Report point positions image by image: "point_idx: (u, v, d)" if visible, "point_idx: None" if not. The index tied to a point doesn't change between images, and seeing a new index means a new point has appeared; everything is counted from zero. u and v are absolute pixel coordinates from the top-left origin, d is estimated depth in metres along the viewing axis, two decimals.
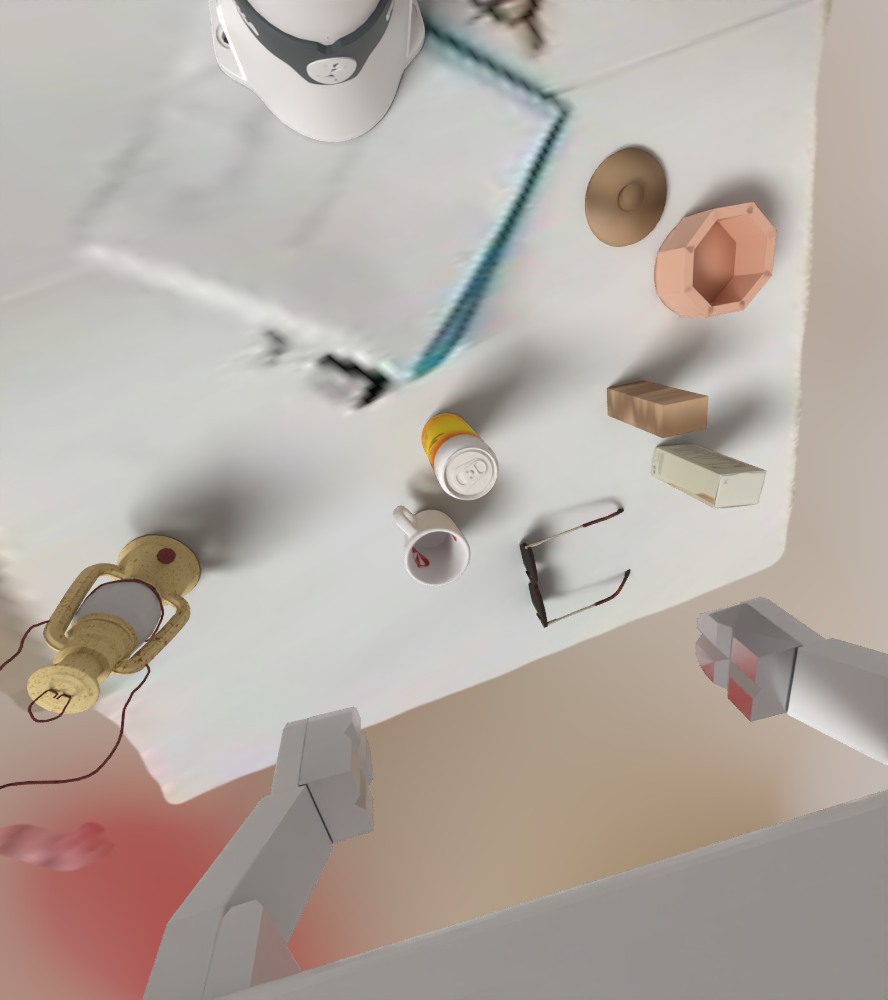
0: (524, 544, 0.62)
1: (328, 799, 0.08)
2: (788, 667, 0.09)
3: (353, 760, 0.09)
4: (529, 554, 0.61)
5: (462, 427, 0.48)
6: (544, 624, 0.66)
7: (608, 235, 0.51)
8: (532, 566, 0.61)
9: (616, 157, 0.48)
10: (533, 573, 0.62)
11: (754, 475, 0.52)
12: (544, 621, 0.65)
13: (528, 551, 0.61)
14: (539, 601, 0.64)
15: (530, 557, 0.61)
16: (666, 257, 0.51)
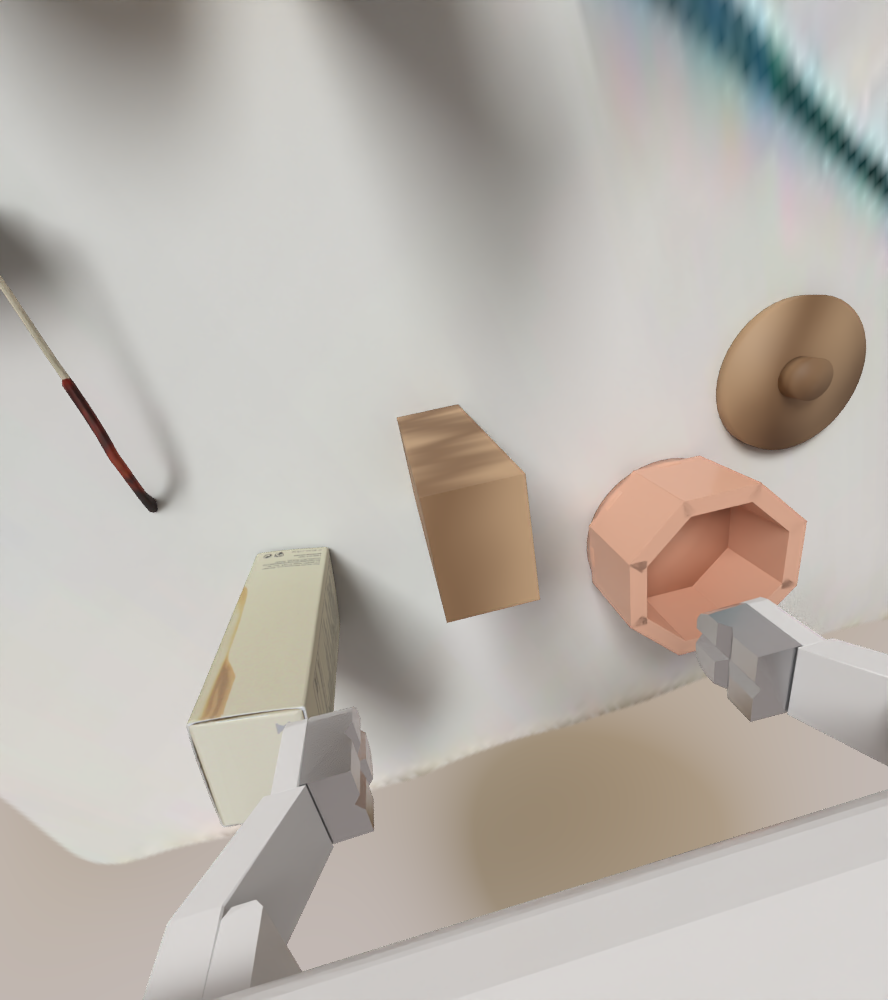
0: None
1: (328, 799, 0.08)
2: (788, 666, 0.09)
3: (353, 760, 0.09)
4: None
5: None
6: None
7: (750, 348, 0.26)
8: None
9: (858, 341, 0.27)
10: None
11: None
12: None
13: None
14: None
15: None
16: (708, 466, 0.27)
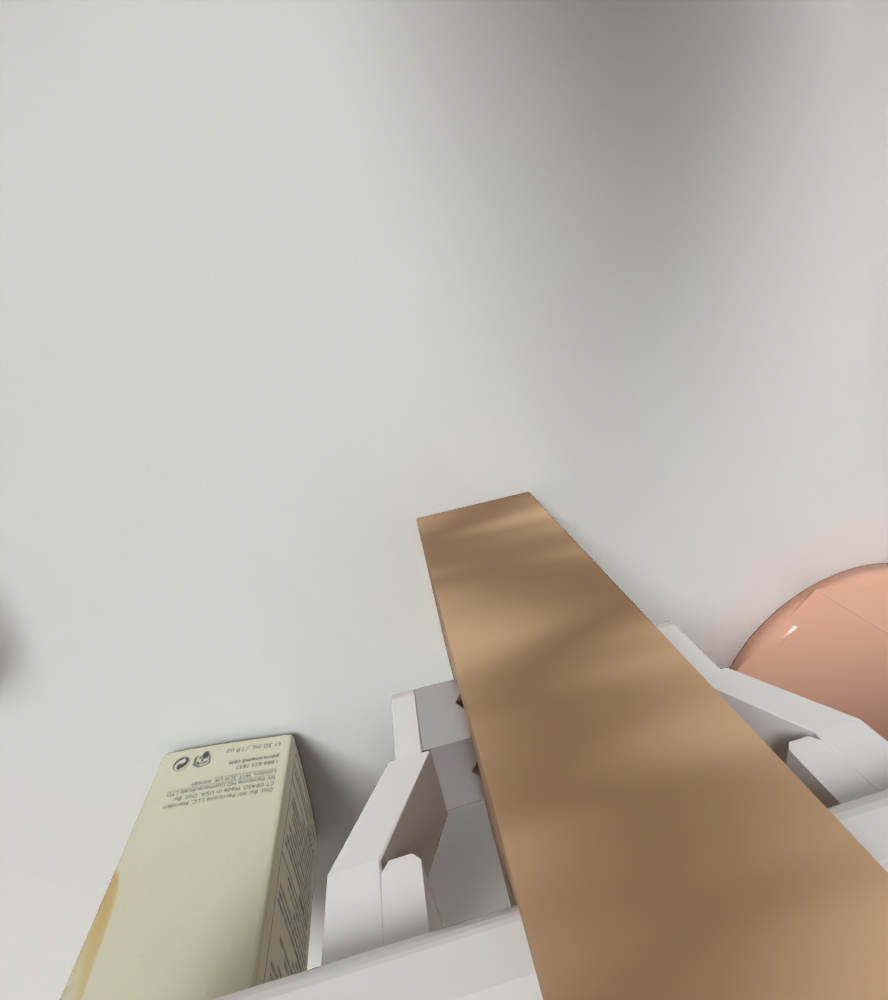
0: None
1: (448, 765, 0.09)
2: None
3: (469, 728, 0.09)
4: None
5: None
6: None
7: None
8: None
9: None
10: None
11: None
12: None
13: None
14: None
15: None
16: None
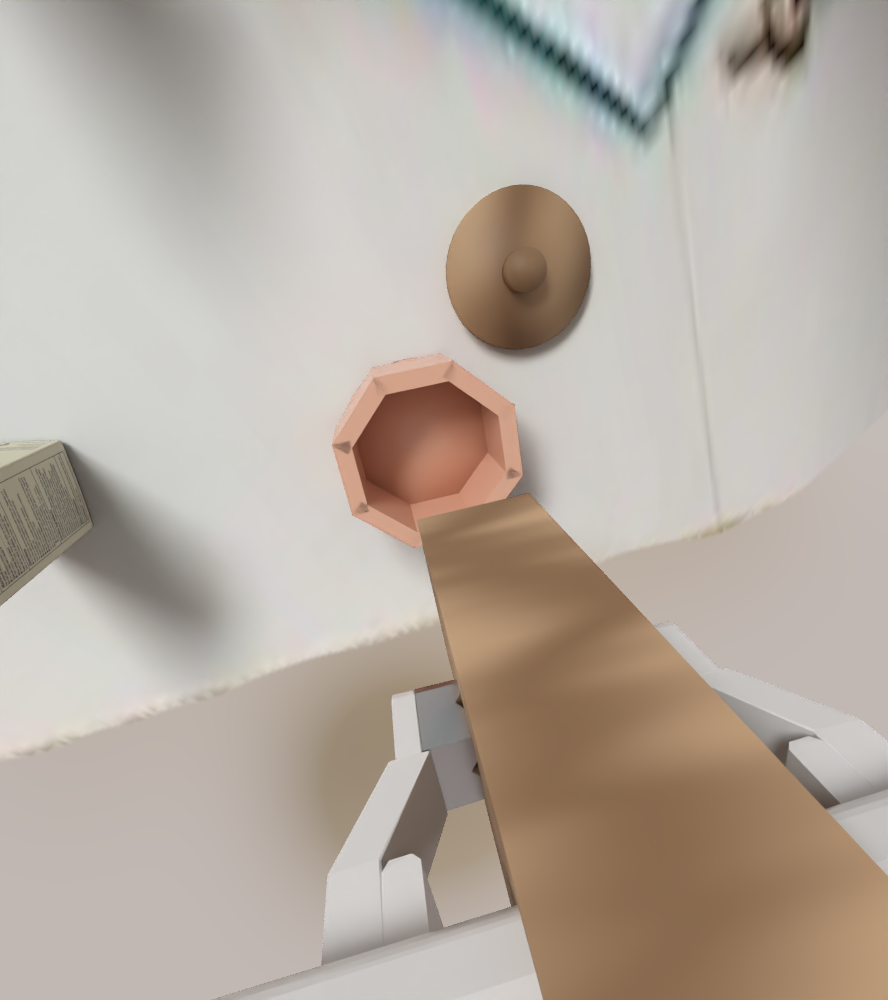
0: None
1: (448, 765, 0.09)
2: None
3: None
4: None
5: None
6: None
7: (463, 240, 0.27)
8: None
9: (579, 235, 0.28)
10: None
11: None
12: None
13: None
14: None
15: None
16: (432, 358, 0.28)
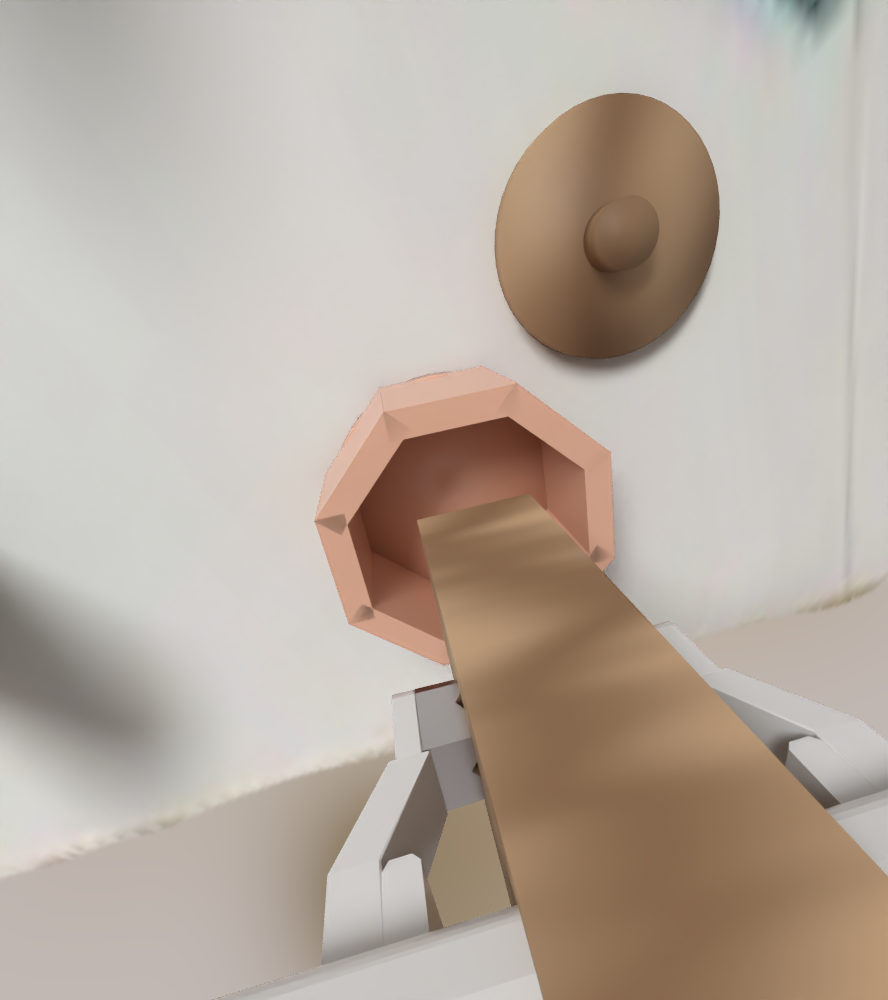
0: None
1: (448, 765, 0.09)
2: None
3: (469, 728, 0.09)
4: None
5: None
6: None
7: (526, 186, 0.17)
8: None
9: (705, 180, 0.18)
10: None
11: None
12: None
13: None
14: None
15: None
16: (475, 374, 0.18)
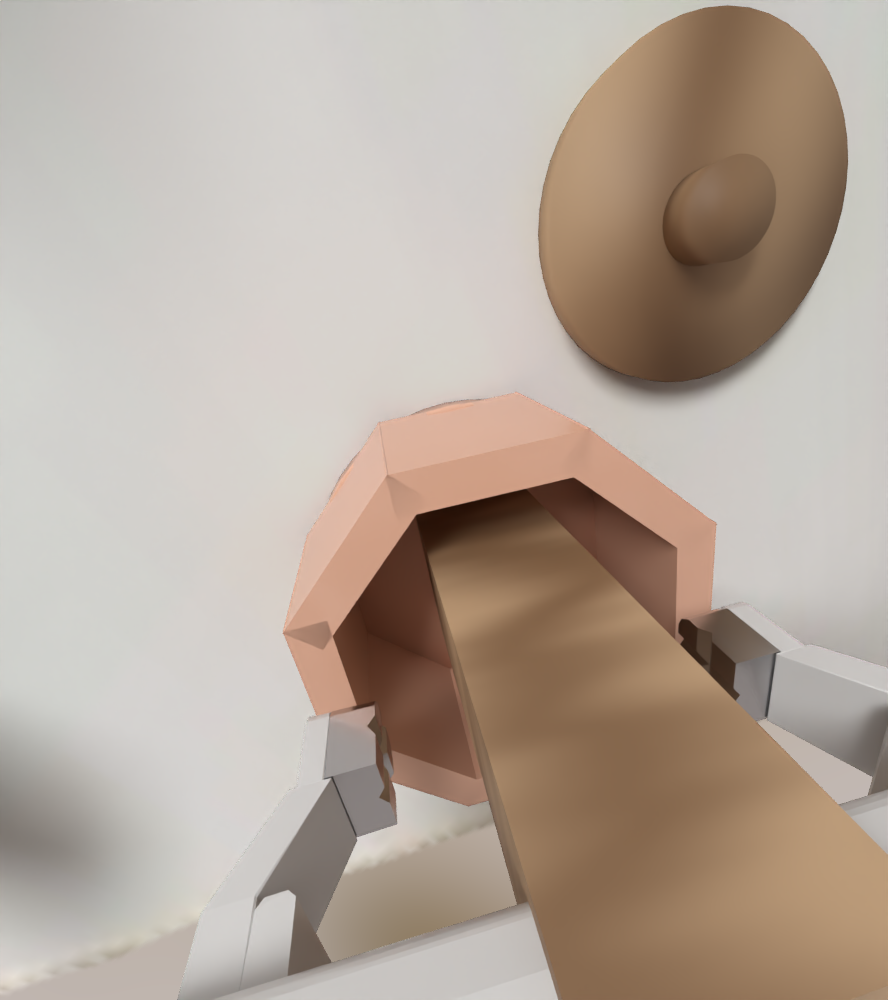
0: None
1: (353, 792, 0.08)
2: (766, 672, 0.09)
3: (377, 753, 0.09)
4: None
5: None
6: None
7: (588, 142, 0.12)
8: None
9: (832, 136, 0.13)
10: None
11: None
12: None
13: None
14: None
15: None
16: (513, 407, 0.13)
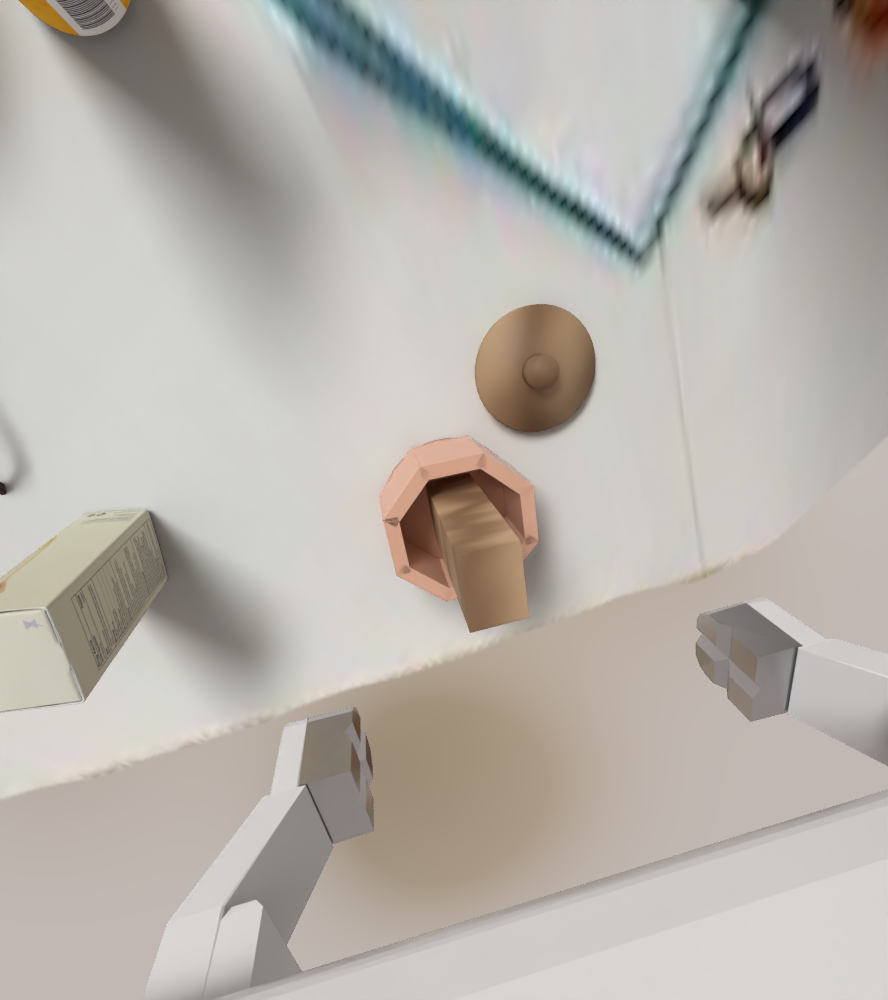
0: None
1: (328, 799, 0.08)
2: (788, 667, 0.09)
3: (353, 760, 0.09)
4: None
5: None
6: None
7: (490, 348, 0.32)
8: None
9: (585, 341, 0.34)
10: None
11: (66, 681, 0.24)
12: None
13: None
14: None
15: None
16: (464, 443, 0.33)
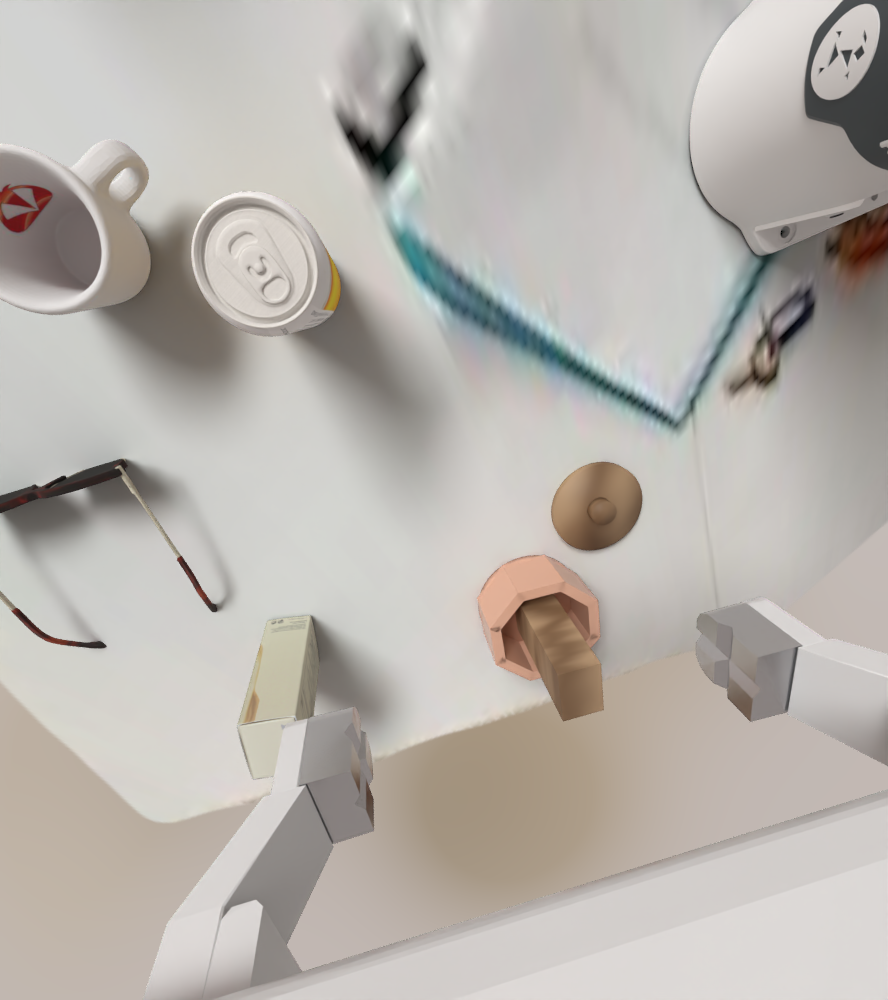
0: (124, 465, 0.35)
1: (328, 799, 0.08)
2: (788, 667, 0.09)
3: (353, 760, 0.09)
4: (104, 474, 0.33)
5: (334, 285, 0.27)
6: None
7: (565, 496, 0.44)
8: (77, 483, 0.33)
9: (635, 486, 0.44)
10: (61, 487, 0.33)
11: None
12: None
13: (110, 471, 0.33)
14: None
15: (97, 477, 0.33)
16: (544, 565, 0.44)
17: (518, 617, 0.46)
